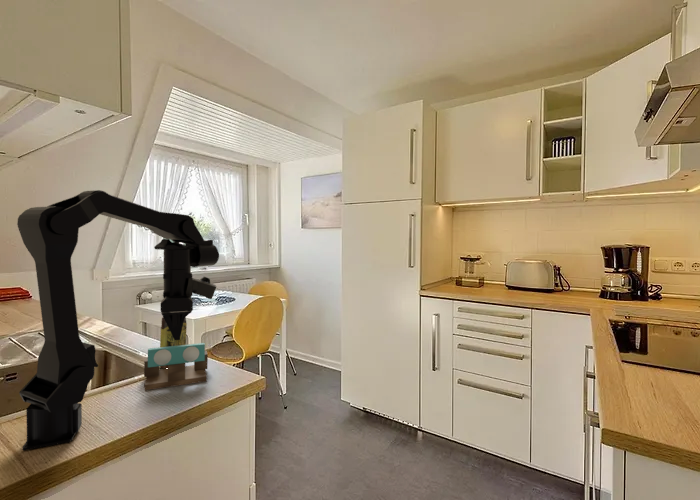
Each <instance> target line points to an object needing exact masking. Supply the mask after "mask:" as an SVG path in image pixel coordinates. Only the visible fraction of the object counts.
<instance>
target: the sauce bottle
mask: <svg viewBox="0 0 700 500" xmlns="http://www.w3.org/2000/svg"><path fill="white" fill-rule="evenodd" d="M186 318H187V316H186V317H185V319H184V323H183V327H182V332H181V336H180V340H174V338H173V336H172V334H171V332H170V330H169V328H168V326H167V324H166V322H165V320H164V318H163V317H161V326H160V337H159V339H160V341H159V347H169V346H179V345H187V325H188V323H187V319H186ZM159 368H161V369H166V368H168V365H164V366H159Z"/></svg>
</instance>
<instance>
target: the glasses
mask: <svg viewBox="0 0 700 500" xmlns="http://www.w3.org/2000/svg"><path fill="white" fill-rule="evenodd" d="M205 345H206V344H205V342H199V343H191V344H186V345H179V346H169V347H160V346H159V347H152V348H151V347H150V348H147V357H148V367H156V366H159V367H160V366H164V365H173V364H181V363H185V364H186V363H187V364H188V363H194V362H197V361H205V351H206V348H205V347H206V346H205Z"/></svg>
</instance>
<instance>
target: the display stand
mask: <svg viewBox="0 0 700 500" xmlns="http://www.w3.org/2000/svg"><path fill="white" fill-rule="evenodd" d="M208 354H209V353H208V351H207V350H205V361H197V362H193V365H186V363H181V364H173V365H168V369H163V368H161V369H160V366H156V367H148V356H146V357H145V358H144V363H143V365H144V366H143V368H144V370H143V371H144V372H143V376H144V378H145V381H144V391H150V390H156V389H161V388H169V387H175V386H183V385H189V384H190V385H191V384H196V383H205V382H207V379H208V377H207V371H206V370H208V358H209V357H208Z"/></svg>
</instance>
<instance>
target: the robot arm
mask: <svg viewBox="0 0 700 500" xmlns="http://www.w3.org/2000/svg"><path fill="white" fill-rule="evenodd" d="M99 215H102V216H104V217H108V218H112V219H115V220H118V221H122V222H126V223H129V224H132V225H136V226H140V227H143V228H146V229H148V230H150V231H151V232H153V234H155V235H157V236H159V237H161V238H162V239H161V240H160V241H159V243H157V244H156V245H155V246H154V249H155V250H162V251H163V274H162V279H163V292H162V298H163V299H161V301H160V313H161V315H162V318H164V320H165V322H166V324H167V326H168V328H169V330H170V332H171V334H172V336H173V338H174V340H180V336H181V332H182V327H183V323H184V319H185V317H186V318H187V317H188V315H189V314H192V313H193V311H194V308H193V307H194V301H193V298H192V296H193V294H195V295H198V296H201V297H205V298H206V299H208V300H212V299H213V298H214V295H215V293H216V289H217V285H216V284H214V283H211V279H210V277H207V276H203V277H201V278H200V279H197V278H194V277H193V273H192V272H191V271H192V270H191V268H200V267H210V266H215V265H216V264H217V263H218V261H219V259H220V253H219V250H218V247H217V246H216V245H214V240H213V239H204V237H203V235H202V234H201V233H200V231H199V229H198V228H197V225H196V224H195V221H194V218H193V217H192V216H190V215H189V214H182V213H174V212H165V211H159V210H155V209H153V208H150V207H147V206H144V205H141V204H139V203H135V202H132V201H131V200H130V201H129V200H127V199H123V198H120V197H118V196H114V195H112V194H109V193H108V192H106V191H104V190H99V189H98V190H96V189H95V190H84V191H82V192H80V193H78V194H77V195H74V196H72V197H69V198H67V199H66V198H65V199H63V200H61V201H58V202H55V203H52V204H50V205H47V206H35V207H34V206H33V207H29V208H28V209H27V208H26V209H25V210H24V211H23V212H22V213H21V214H19V215H18V218H17V224H16V225H17V228H18V232H19V234H20V237H21V239H22V242H23V245H24V246H25V249H26V250H27V251H28V252H29V255H31V257H32V259H33V261H34V264H35V265H34V266H35V271H36V280H37V281H36V282H37V287H38V297H39V303H40V304H39V305H40V313H41V321H42V328H43V336H44V337H43V338H44V344H43V345H42V347H41V350H40V353H39V354H38V358H37V366H36V373H35V374H34V375H33V377H31V379H30V380H29V381H28V382H27V383H26V384H25V385H23V387H22V388H21V389H20V390H19V397H20V398H21V400H22V401H23V402H24V403H28V404H29V405H28V406H27V408H26V441H25V442H24V444H23V445H22V447H21V449H22V451H26V450H27V451H29V450H33V449H38V448H43V447H44V448H45V447H50V446H54V445H60V444H66V443H70V442H72V441H73V439H74V438H75V436H76V434H77V433H78V432H79V431H80V429H81V427H82V423H83V421H82V418H83V417H82V412H83V410H82V401H83V400H84V397H85V395H86V392H87V388H88V385H89V384H90V382H91V381H92V380H93V379H94V376H95V368H98V367H99V365H98V363H97V361H96V350H97V349H96V346H95V345H94V344H91V343H86V342H83V341H82V340H81V337H80V332H79V323H78V311H77V306H76V304H77V303H76V296H75V287H74V286H75V285H74V278H73V269H72V268H73V267H72V257H73V254H74V252H75V250H76V248H77V245H78V241H79V229H81V228H82V227H84V226H86V225H87V224H90V223H91V222H92V221H93V220H95V219H96V218H97V217H98V216H99Z"/></svg>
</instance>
